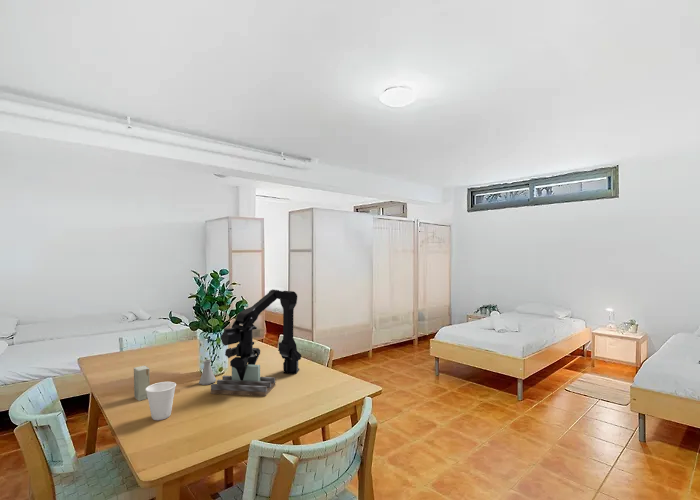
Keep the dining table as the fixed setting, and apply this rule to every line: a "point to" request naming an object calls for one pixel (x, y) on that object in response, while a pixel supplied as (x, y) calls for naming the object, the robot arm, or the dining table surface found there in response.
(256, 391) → the track base
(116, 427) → the dining table surface
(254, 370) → the door panel
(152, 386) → the cup
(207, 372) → the flask
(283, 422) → the dining table surface
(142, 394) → the skincare box
